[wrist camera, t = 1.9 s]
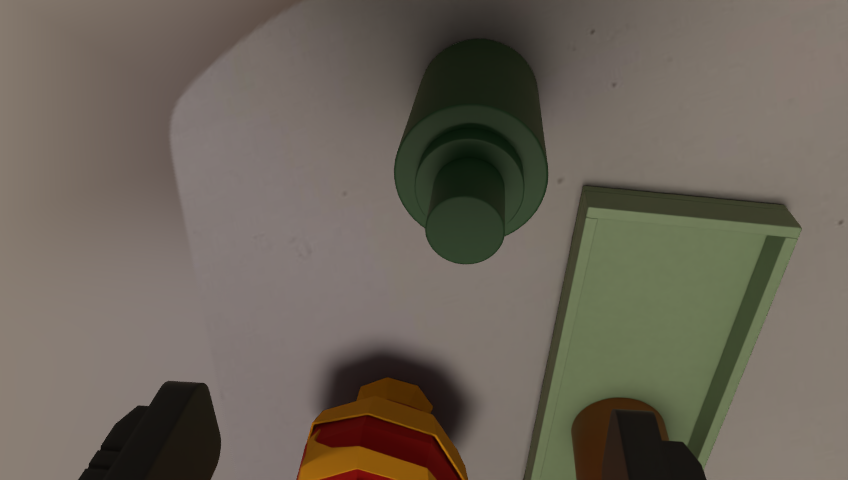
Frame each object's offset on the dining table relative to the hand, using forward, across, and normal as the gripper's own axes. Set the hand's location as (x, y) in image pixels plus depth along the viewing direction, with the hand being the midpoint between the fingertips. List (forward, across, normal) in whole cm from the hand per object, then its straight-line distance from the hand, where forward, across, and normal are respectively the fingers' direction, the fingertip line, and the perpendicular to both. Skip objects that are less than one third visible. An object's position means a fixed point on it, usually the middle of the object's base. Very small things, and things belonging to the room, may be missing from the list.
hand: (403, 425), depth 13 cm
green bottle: (+22, -1, +1) cm, 22 cm away
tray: (+22, -10, +20) cm, 32 cm away
